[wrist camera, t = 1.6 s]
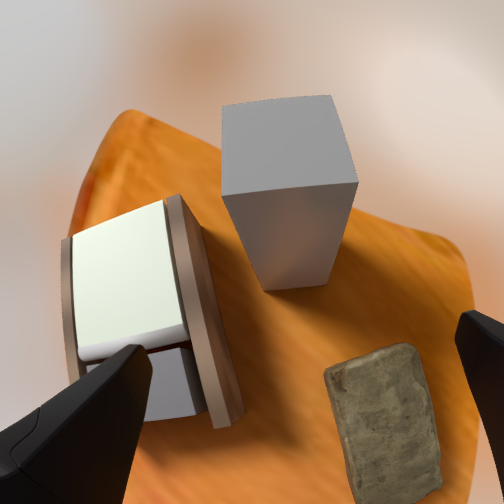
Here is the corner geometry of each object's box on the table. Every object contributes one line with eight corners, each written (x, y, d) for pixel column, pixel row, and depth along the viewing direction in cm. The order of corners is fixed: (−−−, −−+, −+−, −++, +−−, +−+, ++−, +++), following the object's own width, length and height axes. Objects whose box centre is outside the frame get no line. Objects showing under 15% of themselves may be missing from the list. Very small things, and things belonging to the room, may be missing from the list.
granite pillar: (326, 284, 21) (358, 181, 9) (263, 291, 22) (221, 196, 10) (318, 227, 23) (330, 94, 11) (259, 233, 24) (222, 106, 12)
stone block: (392, 341, 19) (417, 334, 15) (423, 472, 15) (450, 493, 10) (316, 368, 20) (323, 370, 15) (352, 501, 15) (364, 531, 11)
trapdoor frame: (246, 412, 19) (231, 425, 14) (120, 429, 19) (82, 438, 15) (200, 225, 25) (179, 193, 20) (94, 261, 25) (61, 240, 20)
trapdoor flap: (220, 405, 18) (203, 413, 15) (120, 419, 18) (91, 425, 15) (179, 222, 23) (161, 198, 20) (97, 252, 24) (72, 234, 20)
